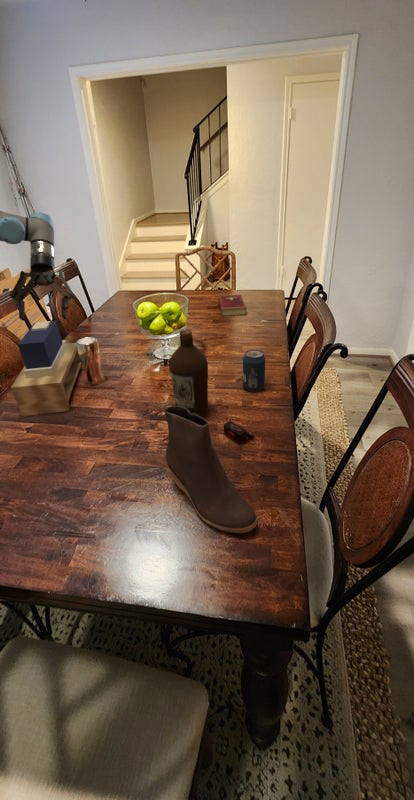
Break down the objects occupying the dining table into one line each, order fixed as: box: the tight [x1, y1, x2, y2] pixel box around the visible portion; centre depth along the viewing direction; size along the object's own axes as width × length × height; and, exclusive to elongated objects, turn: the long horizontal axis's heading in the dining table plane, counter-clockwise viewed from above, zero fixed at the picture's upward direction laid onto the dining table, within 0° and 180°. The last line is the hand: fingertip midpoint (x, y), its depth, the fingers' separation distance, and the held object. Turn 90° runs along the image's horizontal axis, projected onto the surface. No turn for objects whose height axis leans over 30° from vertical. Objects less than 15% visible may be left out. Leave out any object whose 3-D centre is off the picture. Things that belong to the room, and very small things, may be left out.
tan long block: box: [10, 342, 84, 417], centre depth 122 cm, size 14×30×10 cm, turn 8°
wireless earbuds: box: [223, 421, 255, 445], centre depth 97 cm, size 5×7×3 cm, turn 43°
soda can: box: [242, 349, 266, 393], centre depth 116 cm, size 7×7×12 cm
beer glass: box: [75, 336, 106, 386], centre depth 125 cm, size 7×7×15 cm
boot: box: [163, 405, 258, 534], centre depth 74 cm, size 9×24×20 cm, turn 45°
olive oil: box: [168, 328, 209, 418], centre depth 103 cm, size 11×11×25 cm
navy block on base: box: [17, 320, 67, 378], centre depth 117 cm, size 22×8×11 cm, turn 8°
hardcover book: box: [218, 294, 247, 317], centre depth 186 cm, size 12×21×4 cm, turn 2°
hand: (43, 318), depth 124 cm, fingers open, 13 cm apart
